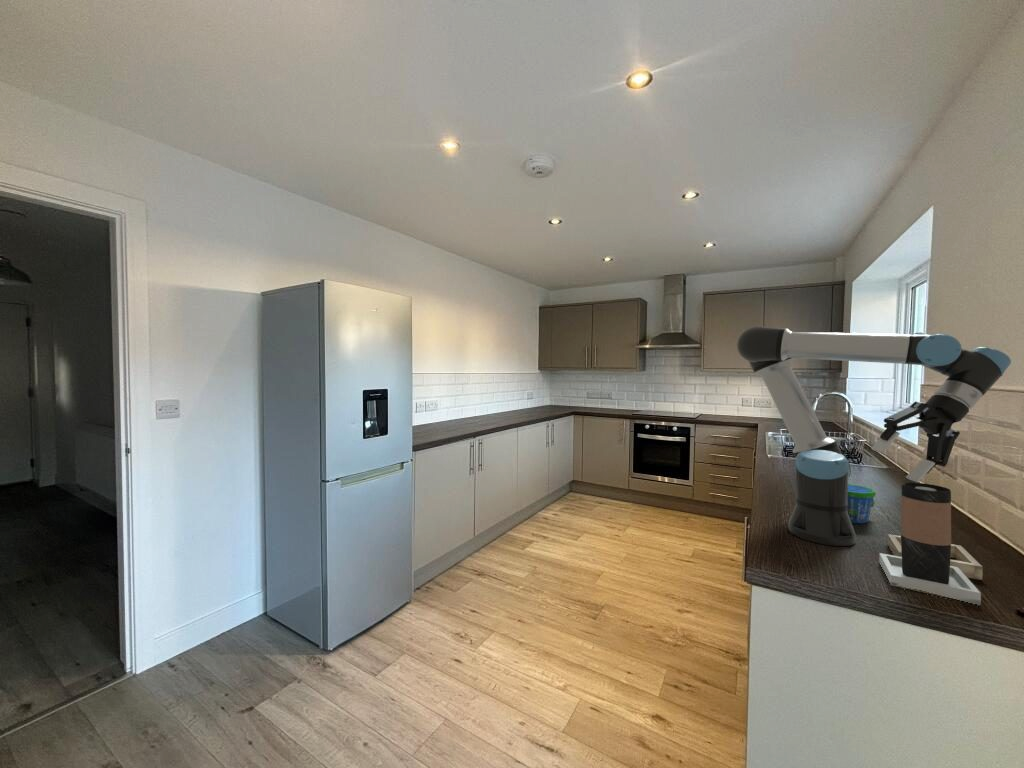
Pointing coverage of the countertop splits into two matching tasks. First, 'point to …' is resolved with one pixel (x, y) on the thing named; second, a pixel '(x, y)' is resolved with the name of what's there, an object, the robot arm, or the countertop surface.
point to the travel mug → (926, 532)
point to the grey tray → (955, 589)
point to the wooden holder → (963, 557)
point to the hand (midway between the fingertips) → (894, 465)
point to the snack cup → (860, 503)
